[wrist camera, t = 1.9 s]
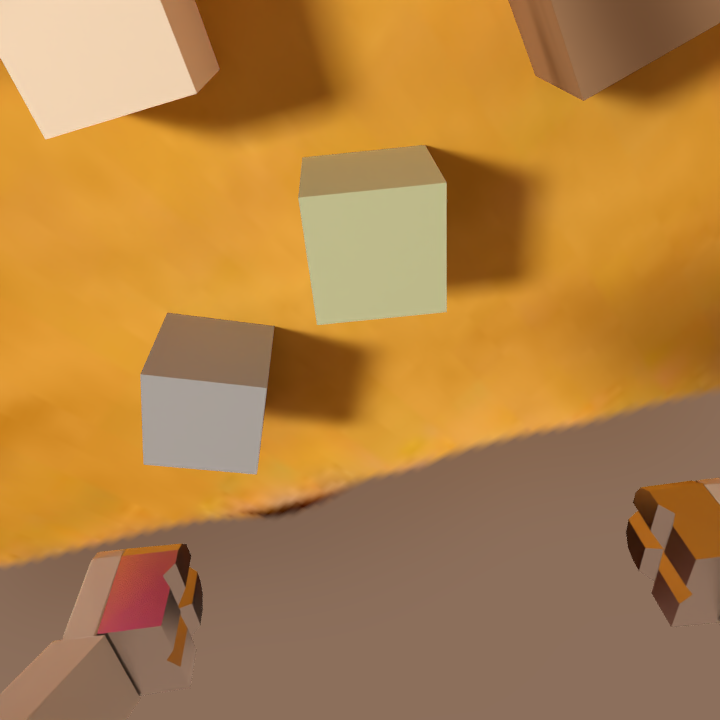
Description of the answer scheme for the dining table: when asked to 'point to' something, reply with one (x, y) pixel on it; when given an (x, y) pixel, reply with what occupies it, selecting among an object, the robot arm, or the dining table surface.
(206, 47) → the cube offwhite
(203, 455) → the cube slate
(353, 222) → the cube sage
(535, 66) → the cube walnut
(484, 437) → the dining table surface
